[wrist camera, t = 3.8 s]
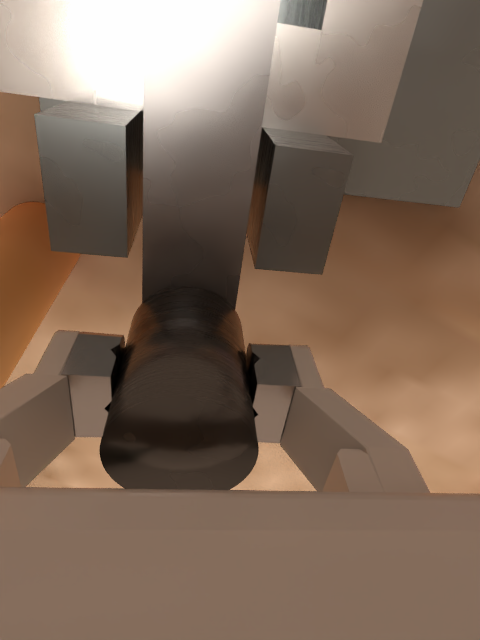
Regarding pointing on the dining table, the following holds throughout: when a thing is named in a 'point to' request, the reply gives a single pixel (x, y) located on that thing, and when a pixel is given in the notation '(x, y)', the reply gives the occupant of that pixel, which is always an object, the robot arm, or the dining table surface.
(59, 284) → the orange rounded cylinder
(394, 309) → the dining table surface
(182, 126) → the crank handle
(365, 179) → the mount
